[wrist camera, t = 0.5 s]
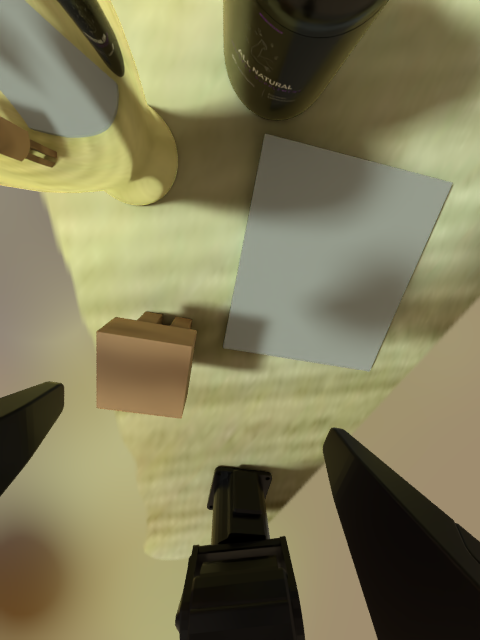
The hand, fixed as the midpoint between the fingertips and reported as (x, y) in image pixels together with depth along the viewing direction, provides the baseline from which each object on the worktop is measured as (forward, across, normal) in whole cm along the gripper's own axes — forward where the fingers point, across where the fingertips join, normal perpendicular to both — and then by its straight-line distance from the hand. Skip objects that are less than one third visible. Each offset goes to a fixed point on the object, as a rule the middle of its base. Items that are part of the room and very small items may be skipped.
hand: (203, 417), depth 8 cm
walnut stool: (+13, +4, +4) cm, 14 cm away
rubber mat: (+13, -8, -5) cm, 16 cm away
